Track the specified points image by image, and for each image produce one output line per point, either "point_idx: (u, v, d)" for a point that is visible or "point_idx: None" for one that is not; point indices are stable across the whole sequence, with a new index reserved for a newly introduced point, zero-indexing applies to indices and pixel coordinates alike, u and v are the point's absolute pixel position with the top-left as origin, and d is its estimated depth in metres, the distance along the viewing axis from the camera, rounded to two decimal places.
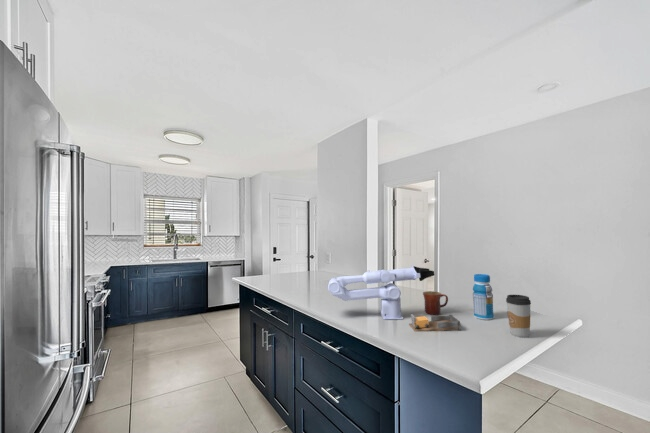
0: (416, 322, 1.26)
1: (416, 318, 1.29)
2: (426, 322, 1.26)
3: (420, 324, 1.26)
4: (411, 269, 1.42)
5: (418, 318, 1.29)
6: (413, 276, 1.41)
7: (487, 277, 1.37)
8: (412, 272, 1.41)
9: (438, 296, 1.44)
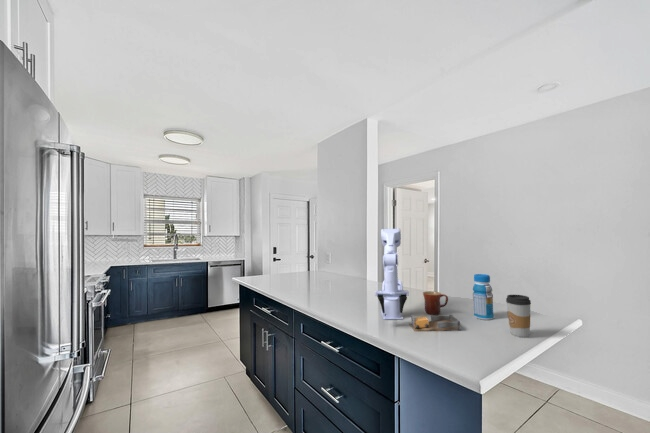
0: (416, 322, 1.26)
1: (416, 318, 1.29)
2: (426, 322, 1.26)
3: (420, 324, 1.26)
4: (388, 290, 1.27)
5: (418, 318, 1.29)
6: (384, 290, 1.30)
7: (487, 277, 1.37)
8: (385, 290, 1.28)
9: (438, 296, 1.44)
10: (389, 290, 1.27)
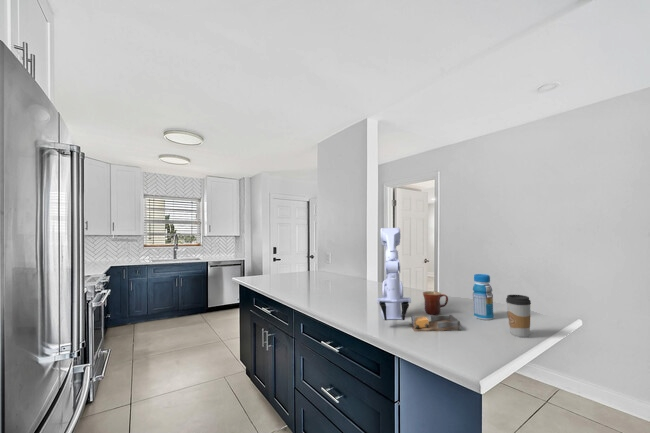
0: (416, 322, 1.26)
1: (416, 318, 1.29)
2: (426, 322, 1.26)
3: (420, 324, 1.26)
4: (390, 298, 1.27)
5: (418, 318, 1.29)
6: (386, 297, 1.30)
7: (487, 277, 1.37)
8: (387, 297, 1.28)
9: (438, 296, 1.44)
10: (391, 297, 1.27)
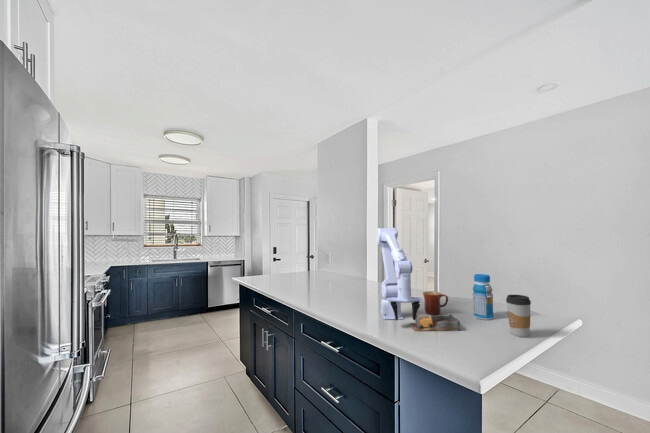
0: (420, 322, 1.26)
1: (420, 318, 1.29)
2: (430, 322, 1.26)
3: (424, 324, 1.26)
4: (401, 298, 1.27)
5: (422, 318, 1.29)
6: (397, 297, 1.30)
7: (487, 277, 1.37)
8: (398, 297, 1.28)
9: (438, 296, 1.44)
10: (402, 297, 1.27)
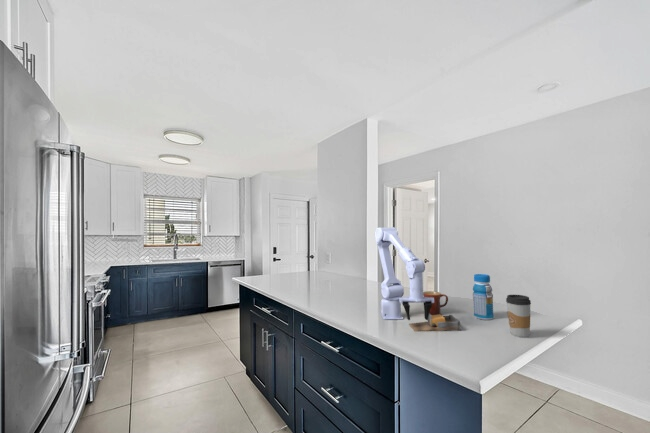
0: (432, 320, 1.25)
1: (432, 316, 1.29)
2: (442, 320, 1.25)
3: (436, 322, 1.25)
4: (414, 297, 1.26)
5: (434, 316, 1.28)
6: (409, 297, 1.30)
7: (487, 277, 1.37)
8: (410, 297, 1.28)
9: (438, 296, 1.44)
10: (414, 297, 1.26)
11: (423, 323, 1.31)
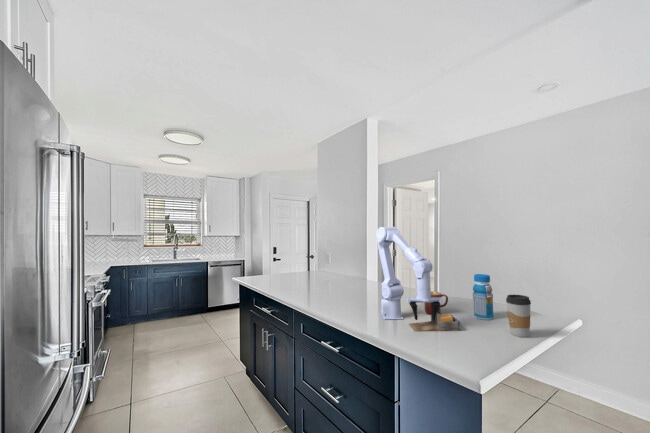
0: (440, 319, 1.25)
1: (440, 315, 1.29)
2: (450, 319, 1.25)
3: (444, 321, 1.25)
4: (421, 297, 1.26)
5: (442, 315, 1.28)
6: (417, 296, 1.30)
7: (487, 277, 1.37)
8: (418, 297, 1.28)
9: (438, 296, 1.44)
10: (422, 297, 1.26)
11: (423, 323, 1.31)
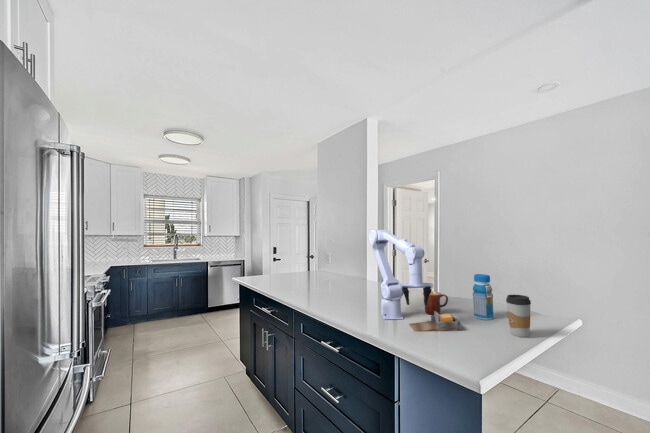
0: (440, 319, 1.25)
1: (440, 315, 1.29)
2: (450, 319, 1.25)
3: (444, 321, 1.25)
4: (413, 283, 1.28)
5: (442, 315, 1.28)
6: (409, 282, 1.32)
7: (487, 277, 1.37)
8: (410, 282, 1.30)
9: (438, 296, 1.44)
10: (414, 282, 1.28)
11: (423, 323, 1.31)
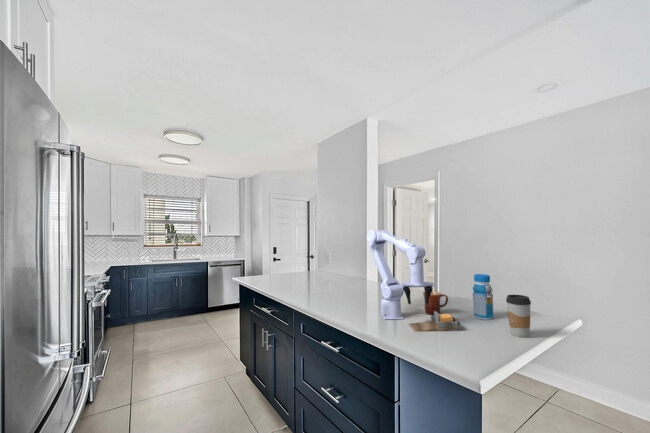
0: (440, 319, 1.25)
1: (440, 315, 1.29)
2: (450, 319, 1.25)
3: (444, 321, 1.25)
4: (414, 282, 1.30)
5: (442, 315, 1.28)
6: (410, 282, 1.33)
7: (487, 277, 1.37)
8: (411, 282, 1.31)
9: (438, 296, 1.44)
10: (415, 282, 1.29)
11: (423, 323, 1.31)
